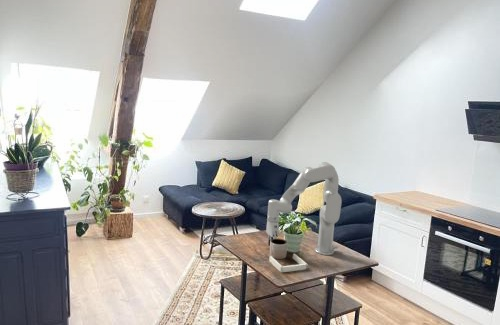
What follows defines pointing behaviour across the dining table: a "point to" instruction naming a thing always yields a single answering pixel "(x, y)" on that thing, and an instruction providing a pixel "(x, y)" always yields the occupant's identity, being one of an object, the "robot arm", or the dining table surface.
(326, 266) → the dining table surface
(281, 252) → the planter
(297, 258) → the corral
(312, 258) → the dining table surface
